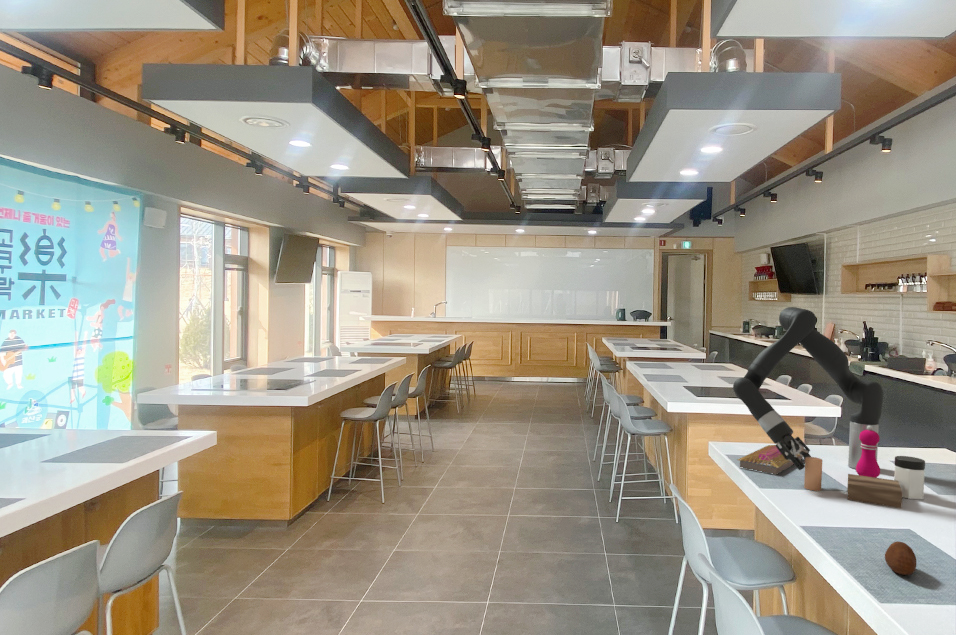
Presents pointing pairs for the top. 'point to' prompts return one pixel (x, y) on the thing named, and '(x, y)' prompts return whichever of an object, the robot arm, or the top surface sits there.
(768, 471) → the slab with pink ridge
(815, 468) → the post
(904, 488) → the jar
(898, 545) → the potato
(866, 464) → the pepper mill
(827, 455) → the top surface
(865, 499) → the base block
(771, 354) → the robot arm
